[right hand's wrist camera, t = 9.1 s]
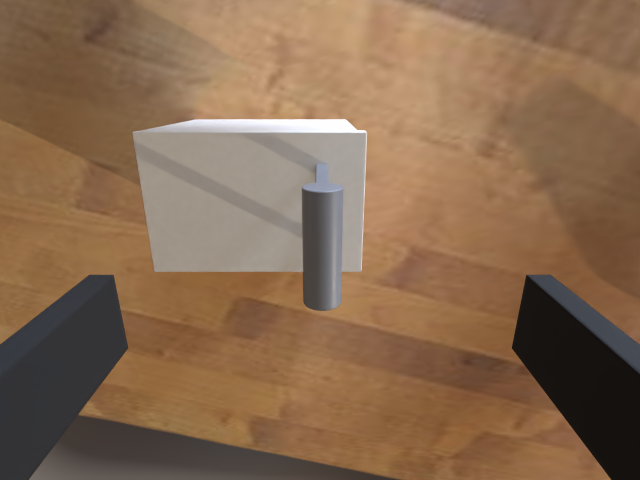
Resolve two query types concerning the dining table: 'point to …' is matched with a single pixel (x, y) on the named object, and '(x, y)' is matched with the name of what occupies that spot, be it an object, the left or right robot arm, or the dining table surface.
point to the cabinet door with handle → (256, 203)
